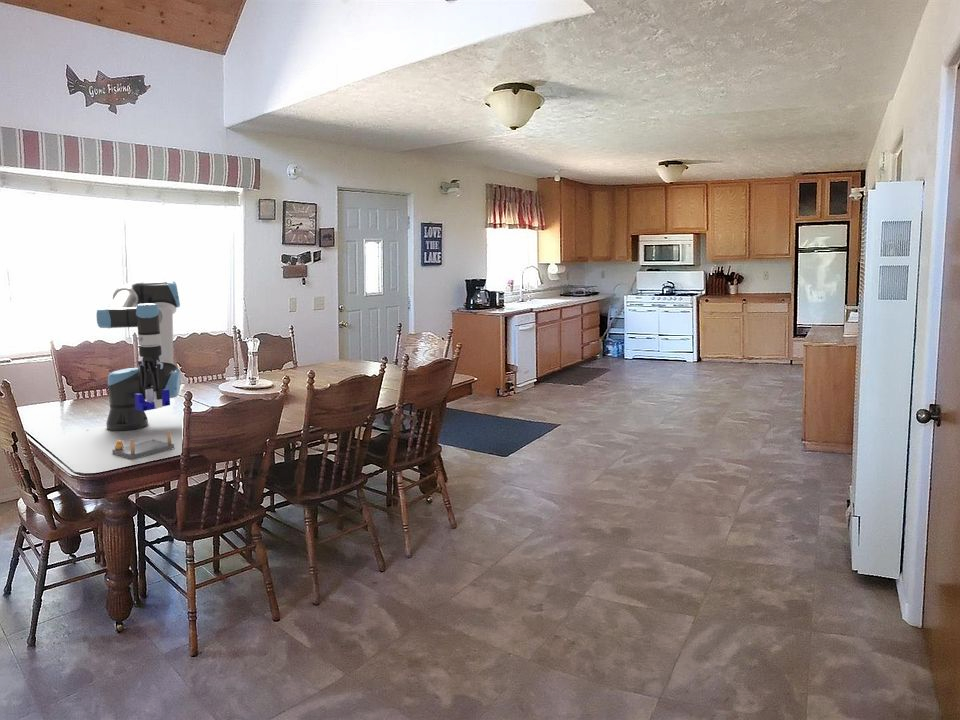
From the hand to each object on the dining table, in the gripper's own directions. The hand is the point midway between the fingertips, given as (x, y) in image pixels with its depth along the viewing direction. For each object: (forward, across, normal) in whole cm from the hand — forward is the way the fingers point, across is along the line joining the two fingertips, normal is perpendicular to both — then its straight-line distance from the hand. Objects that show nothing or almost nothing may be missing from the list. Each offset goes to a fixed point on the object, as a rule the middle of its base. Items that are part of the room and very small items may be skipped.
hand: (154, 406), depth 268 cm
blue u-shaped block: (0, 0, 0) cm, 1 cm away
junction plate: (+12, +11, -12) cm, 21 cm away
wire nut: (+11, +6, -18) cm, 22 cm away
